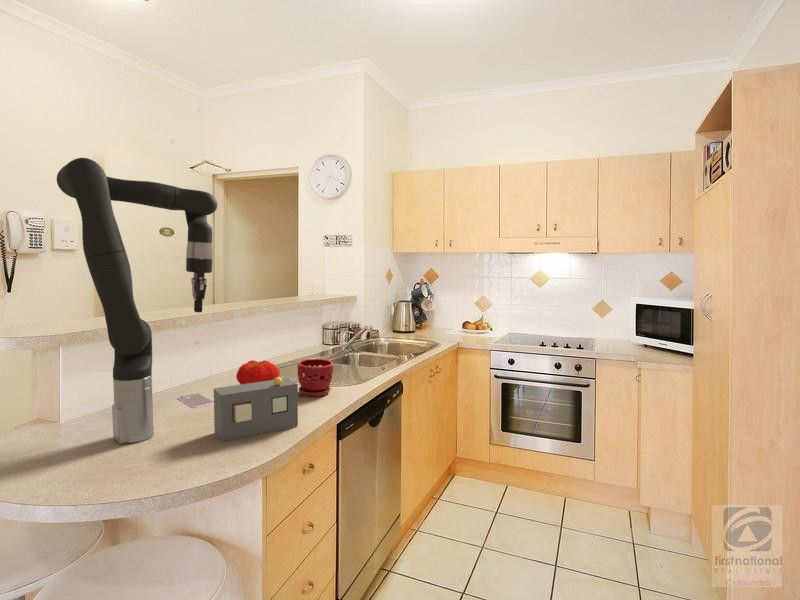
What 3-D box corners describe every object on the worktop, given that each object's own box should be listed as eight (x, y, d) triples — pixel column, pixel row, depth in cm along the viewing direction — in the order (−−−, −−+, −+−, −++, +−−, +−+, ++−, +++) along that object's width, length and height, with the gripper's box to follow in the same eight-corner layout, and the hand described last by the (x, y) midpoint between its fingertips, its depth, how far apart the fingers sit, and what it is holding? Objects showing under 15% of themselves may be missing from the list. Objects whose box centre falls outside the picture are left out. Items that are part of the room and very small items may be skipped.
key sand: (251, 419, 128) (251, 404, 127) (236, 422, 125) (236, 407, 125) (247, 415, 131) (247, 401, 130) (232, 418, 128) (231, 403, 128)
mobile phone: (193, 406, 153) (176, 396, 163) (193, 409, 153) (176, 399, 163) (216, 401, 158) (198, 392, 169) (216, 404, 158) (198, 395, 169)
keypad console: (297, 426, 138) (297, 375, 137) (221, 441, 125) (220, 386, 124) (287, 418, 144) (287, 370, 143) (214, 432, 132) (213, 380, 130)
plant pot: (297, 399, 164) (297, 366, 163) (297, 389, 177) (297, 358, 175) (334, 397, 167) (334, 365, 166) (331, 387, 179) (331, 357, 178)
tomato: (286, 386, 181) (286, 361, 180) (247, 394, 169) (246, 368, 168) (268, 379, 191) (267, 356, 190) (230, 386, 179) (229, 361, 178)
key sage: (286, 410, 136) (286, 396, 135) (272, 412, 133) (272, 398, 133) (281, 406, 139) (281, 393, 139) (268, 409, 137) (267, 395, 136)
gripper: (183, 255, 147) (182, 309, 148) (189, 257, 136) (188, 315, 137) (208, 257, 151) (207, 309, 152) (216, 258, 140) (214, 314, 141)
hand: (198, 312), depth 145 cm, fingers closed
